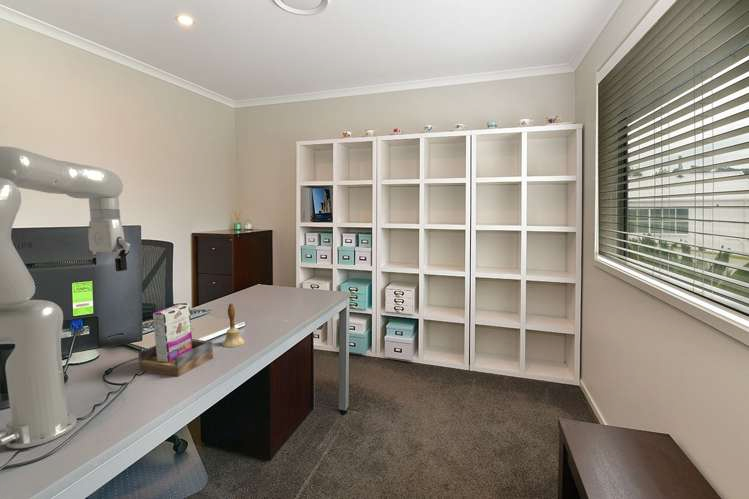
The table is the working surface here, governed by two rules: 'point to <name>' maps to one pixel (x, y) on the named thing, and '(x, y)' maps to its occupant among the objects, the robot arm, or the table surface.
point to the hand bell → (232, 331)
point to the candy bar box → (172, 332)
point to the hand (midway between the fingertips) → (110, 270)
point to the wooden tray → (177, 359)
